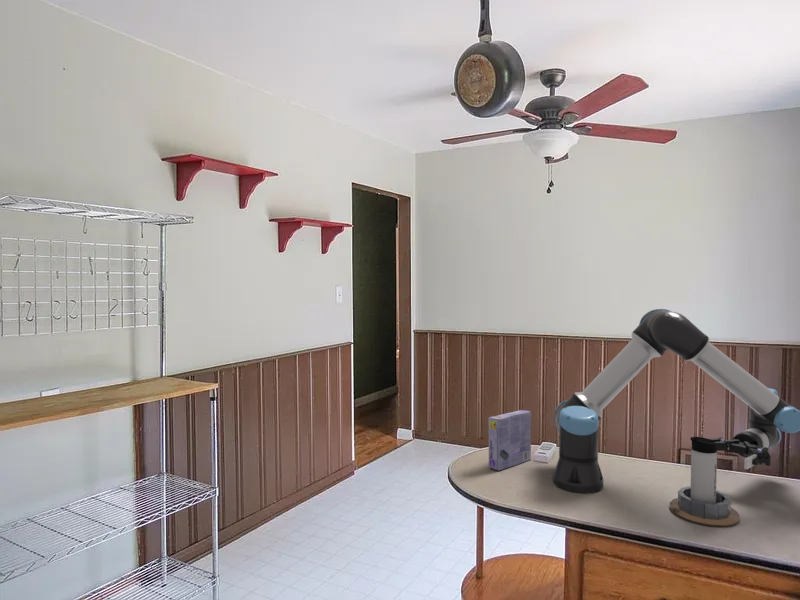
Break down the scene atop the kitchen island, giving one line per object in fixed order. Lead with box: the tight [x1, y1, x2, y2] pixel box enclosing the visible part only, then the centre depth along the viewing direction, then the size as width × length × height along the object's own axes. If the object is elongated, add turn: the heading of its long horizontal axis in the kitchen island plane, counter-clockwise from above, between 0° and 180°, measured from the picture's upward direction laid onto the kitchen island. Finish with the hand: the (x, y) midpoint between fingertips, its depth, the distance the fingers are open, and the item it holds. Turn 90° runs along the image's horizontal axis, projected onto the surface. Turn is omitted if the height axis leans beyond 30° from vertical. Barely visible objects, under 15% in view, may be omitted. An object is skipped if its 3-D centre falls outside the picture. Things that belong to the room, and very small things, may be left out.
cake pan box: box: [487, 409, 532, 472], centre depth 193 cm, size 19×5×18 cm, turn 130°
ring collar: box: [668, 485, 740, 528], centre depth 154 cm, size 17×17×5 cm
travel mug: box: [689, 436, 718, 503], centre depth 154 cm, size 6×7×20 cm
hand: (719, 457), depth 159 cm, fingers open, 13 cm apart
